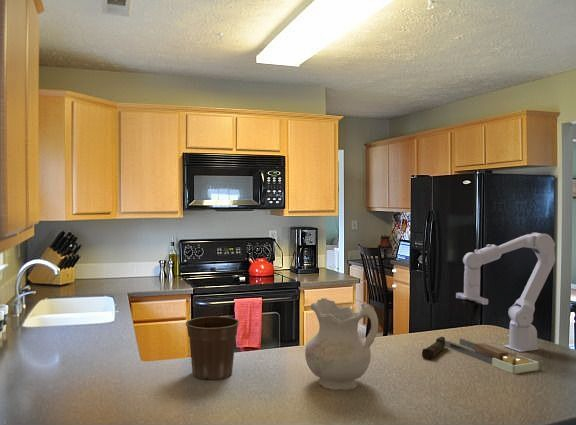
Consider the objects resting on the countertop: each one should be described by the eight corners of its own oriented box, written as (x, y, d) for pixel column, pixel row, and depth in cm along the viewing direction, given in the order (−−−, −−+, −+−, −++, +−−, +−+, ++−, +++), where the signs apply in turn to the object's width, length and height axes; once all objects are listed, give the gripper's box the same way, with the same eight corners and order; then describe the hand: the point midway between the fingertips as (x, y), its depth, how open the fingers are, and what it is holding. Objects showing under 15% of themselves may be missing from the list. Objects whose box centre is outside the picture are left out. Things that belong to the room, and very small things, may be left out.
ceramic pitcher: (383, 382, 158) (385, 300, 159) (372, 400, 139) (374, 306, 141) (314, 374, 165) (317, 295, 166) (295, 390, 146) (298, 300, 148)
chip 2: (518, 365, 174) (518, 356, 174) (530, 368, 171) (530, 359, 171) (512, 367, 172) (512, 358, 172) (524, 370, 169) (524, 361, 169)
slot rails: (462, 343, 200) (462, 338, 200) (512, 361, 178) (512, 356, 178) (444, 345, 197) (444, 340, 197) (492, 364, 175) (492, 358, 175)
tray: (516, 361, 178) (517, 354, 178) (539, 369, 170) (539, 362, 170) (492, 365, 173) (492, 357, 173) (513, 373, 165) (514, 365, 165)
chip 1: (507, 363, 177) (508, 354, 177) (517, 366, 173) (518, 357, 173) (499, 364, 175) (499, 355, 175) (509, 368, 171) (509, 359, 171)
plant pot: (174, 373, 159) (175, 321, 159) (215, 362, 171) (216, 313, 171) (207, 387, 148) (208, 330, 148) (249, 374, 160) (250, 322, 160)
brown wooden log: (432, 361, 178) (433, 347, 178) (421, 358, 180) (421, 345, 180) (451, 349, 193) (451, 337, 193) (440, 347, 195) (441, 335, 195)
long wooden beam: (483, 354, 188) (484, 342, 188) (507, 364, 176) (508, 352, 176) (474, 354, 186) (475, 343, 186) (498, 364, 175) (498, 353, 175)
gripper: (450, 282, 201) (449, 317, 202) (478, 287, 188) (477, 325, 188) (464, 281, 204) (463, 315, 205) (492, 286, 191) (492, 323, 191)
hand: (471, 320), depth 197 cm, fingers closed
